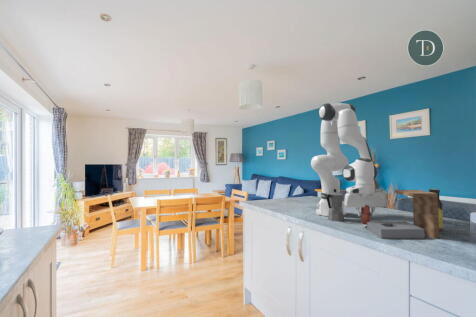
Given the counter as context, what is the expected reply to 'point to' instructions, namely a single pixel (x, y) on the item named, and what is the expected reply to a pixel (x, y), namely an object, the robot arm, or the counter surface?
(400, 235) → the socket block
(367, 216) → the peg
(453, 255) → the counter surface
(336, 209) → the coffeepot
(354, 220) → the counter surface
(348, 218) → the counter surface
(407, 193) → the wooden overhang shelf
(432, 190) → the sauce bottle
